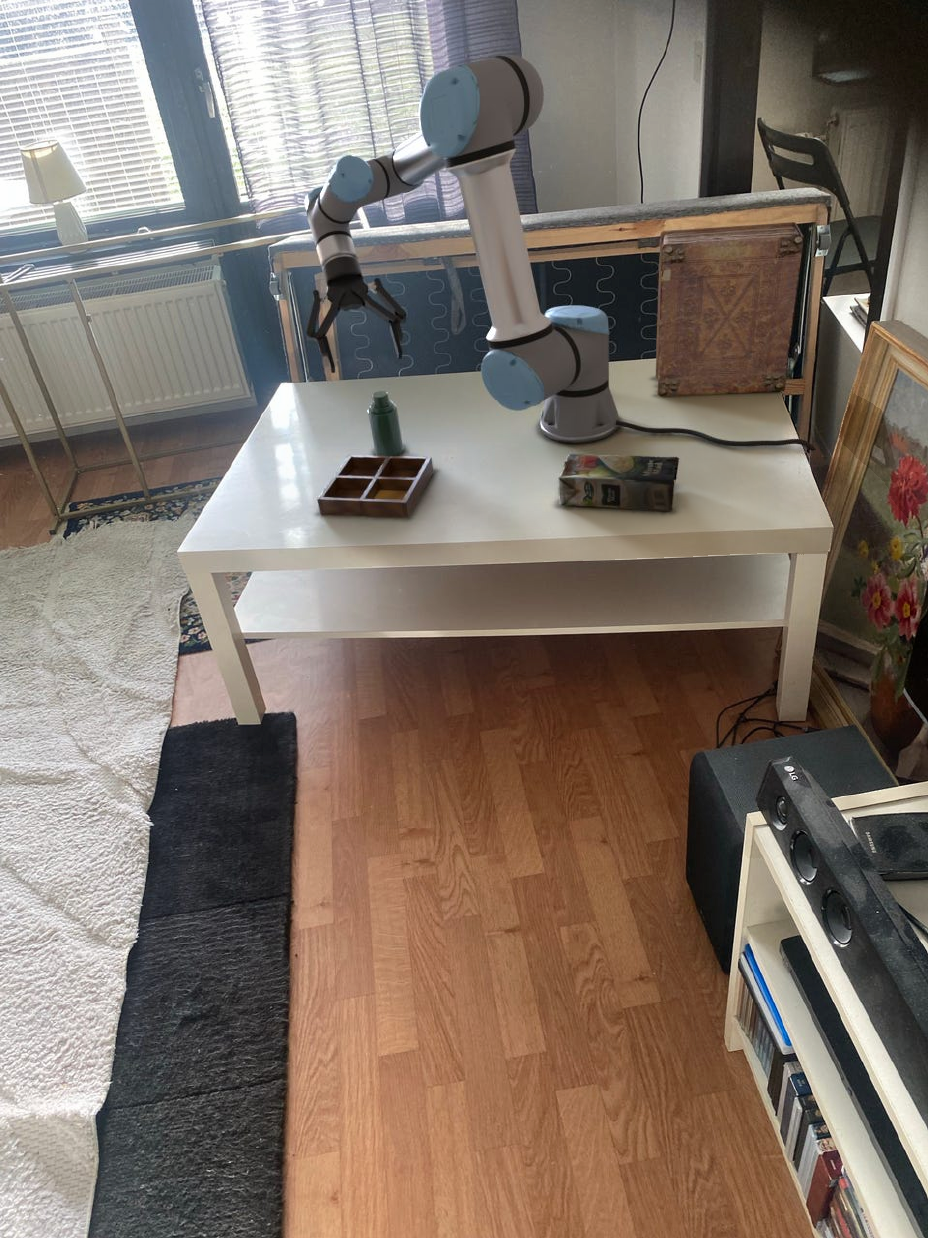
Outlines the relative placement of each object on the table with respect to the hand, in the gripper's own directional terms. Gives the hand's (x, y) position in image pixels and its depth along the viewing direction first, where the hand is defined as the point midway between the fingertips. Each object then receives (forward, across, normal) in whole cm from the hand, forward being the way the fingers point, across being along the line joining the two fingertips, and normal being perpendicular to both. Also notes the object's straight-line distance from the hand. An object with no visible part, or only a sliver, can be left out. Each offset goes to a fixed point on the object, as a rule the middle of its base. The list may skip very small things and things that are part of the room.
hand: (367, 363), depth 178 cm
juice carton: (+43, -33, +22) cm, 58 cm away
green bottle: (+18, 0, -3) cm, 18 cm away
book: (+20, -70, -1) cm, 73 cm away
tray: (+28, +5, +8) cm, 30 cm away
